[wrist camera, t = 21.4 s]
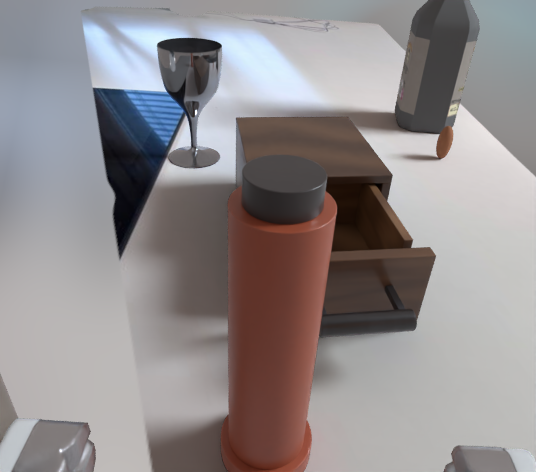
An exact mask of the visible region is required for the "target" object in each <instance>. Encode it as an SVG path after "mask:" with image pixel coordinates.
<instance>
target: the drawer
mask: <svg viewBox="0 0 536 472" xmlns="http://www.w3.org/2000/svg"><path fill="white" fill-rule="evenodd" d="M326 192H327V193H329V194H330V195H331V196H332V197H333V199H334V200H335V202H336V205H337V214H336V221H335V228H334V235H333V242H332V249H331V256H330V262H329V269H328V276H327V283H326V290H325V297H324V304H323V311H322V318H321V325H320V331H319V337H333V336H347V335H361V334H375V333H389V332H403V331H414V330H415V329H416V324H417V318H418V315H419V311H420V308H421V305H422V301H423V298H424V295H425V291H426V288H427V285H428V281H429V278H430V275H431V271H432V268H433V264H434V261H435V258H436V255H435V254H434V252H433V251H432V249H431V248H430V247H424V248H411V246H412V242H413V239H412V238H411V236H410V235H409V233H408V232H407V230H406V229H405V227H404V226H403V224H402V223H401V221H400V220H399V218H398V217H397V215H396V214H395V212H394V211H393V210H392V208H391V207H390V205H389V204H388V202H387V201H386V199H385V198H384V196H383V195H382V193H381V192H380V190H379V189H378V187H377V186H376V184H375V183H365V184H328V185H326Z"/></svg>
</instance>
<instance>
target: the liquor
mask: <svg viewBox="0 0 536 472" xmlns="http://www.w3.org/2000/svg"><path fill="white" fill-rule="evenodd" d="M479 29H480V28H479V19H478V17H477V15H476V13H475V11H474V9H473V7H472V5H471V3H470V1H469V0H428V1H427V3H425V4H424V5H423V6H422V7H421V8H420V9H419V10H418V11H417V12H416V14H415V16H414V18H413V20H412V25H411V30H410V35H409V40H408V46H407V51H406V56H405V61H404V66H403V71H402V76H401V81H400V86H399V91H398V96H397V101H396V106H395V114H396V118H397V121H398V124H399V126H400V127H402V128H405V129H407V130H410V131H417V132H429V133H441V131H442V130H443V129H444V128H445V127H446V126H451V127H453V125H454V122H455V118H456V114H457V111H458V107H459V103H460V100H461V95H462V92H463V89H464V85H465V81H466V78H467V74H468V70H469V66H470V63H471V59H472V56H473V52H474V48H475V45H476V41H477V37H478V33H479Z"/></svg>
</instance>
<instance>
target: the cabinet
mask: <svg viewBox="0 0 536 472" xmlns="http://www.w3.org/2000/svg"><path fill="white" fill-rule="evenodd" d="M267 155H293V156H299V157H303V158H306V159H309V160H312V161H314V162H316V163H318V164H319V165H320V166H322V167H323V168H324V169H325V171H326V173H327V183H326V185H328V184H365V183H375V184H376V186H377V187H378V189H379V190H380V192H381V193H382V195H383V196H384V198H385V199H386V201H387V200H388V195H389V190H390V185H391V181H392V176H393V175H392V174H391V172H390V171H389V170H388V169H387V167H386V166H385V165H384V163H383V162H382V161H381V159H380V158H379V157H378V155H377V154H376V153H375V152H374V150H373V149H372V148H371V146H370V145H369V144H368V142H367V141H366V140H365V138H364V137H363V136H362V135H361V133H360V132H359V131H358V129H357V128H356V127H355V125H354V124H353V123H352V122H351V120H350V119H349V118H348V117H245V118H236V187H237V188H238V187H240V186H242V169H243V167H244V166H245V165H246V164H247V163H248V162H249V161H251V160H253V159H255V158H258V157H262V156H267Z"/></svg>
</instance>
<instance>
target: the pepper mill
mask: <svg viewBox="0 0 536 472" xmlns="http://www.w3.org/2000/svg"><path fill="white" fill-rule="evenodd" d="M326 183H327V173H326V171H325V169H324V168H323V167H322V166H320V165H319V164H318V163H316V162H314V161H312V160H309V159H306V158H303V157H299V156H293V155H267V156H262V157H258V158H255V159H253V160H251V161H249V162H248V163H247V164H246V165H245V166H244V167H243V169H242V186H240V187H238V188H237V189H236V190H234V191H233V192H232V194H231V195H230V197H229V199H228V382H229V414H228V415H227V417H226V418H225V420H224V423H223V426H222V429H221V455H222V460H223V463H224V465H225V467H226V469H227V471H228V472H304V470H305V468H306V466H307V464H308V460H309V455H310V449H311V442H312V435H311V429H310V426H309V424H308V421H307V414H308V407H309V401H310V394H311V387H312V380H313V373H314V366H315V359H316V352H317V345H318V338H319V331H320V325H321V318H322V311H323V304H324V297H325V290H326V283H327V276H328V269H329V262H330V256H331V249H332V242H333V235H334V228H335V221H336V214H337V205H336V202H335V200H334V199H333V197H332V196H331V195H330V194H329V193H327V192H326Z"/></svg>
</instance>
